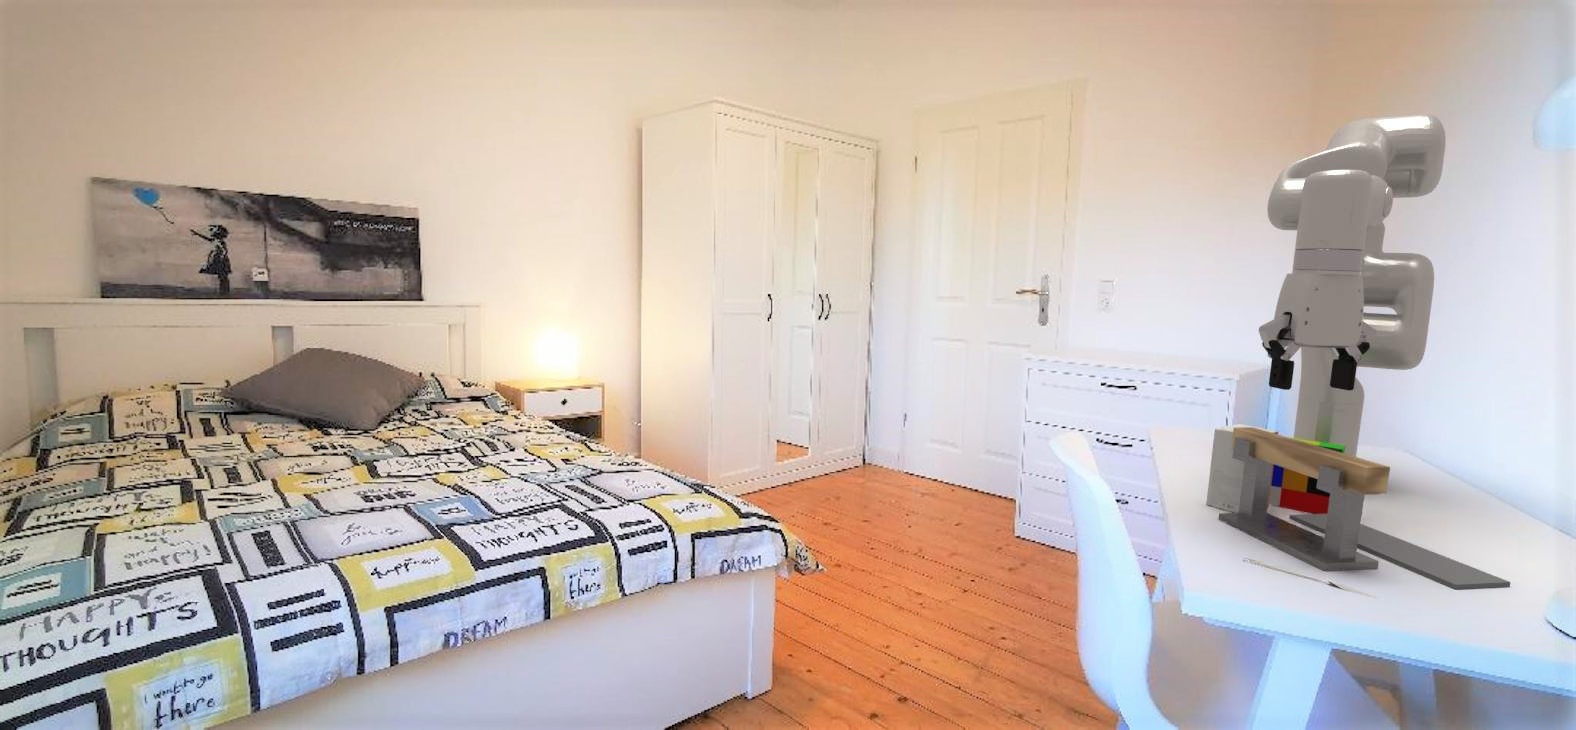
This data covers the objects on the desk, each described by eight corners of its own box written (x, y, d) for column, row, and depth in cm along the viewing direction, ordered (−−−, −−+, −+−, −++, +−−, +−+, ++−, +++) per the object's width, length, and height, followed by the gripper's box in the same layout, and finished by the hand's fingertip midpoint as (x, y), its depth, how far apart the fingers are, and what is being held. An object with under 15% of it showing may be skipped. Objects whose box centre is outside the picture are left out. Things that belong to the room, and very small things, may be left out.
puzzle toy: (1255, 502, 122) (1262, 444, 121) (1267, 489, 129) (1274, 435, 128) (1328, 517, 115) (1337, 456, 114) (1337, 503, 123) (1345, 446, 121)
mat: (1333, 517, 115) (1334, 513, 115) (1509, 586, 91) (1510, 582, 91) (1289, 518, 114) (1289, 514, 114) (1455, 589, 90) (1455, 584, 90)
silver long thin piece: (1425, 612, 82) (1237, 558, 96) (1423, 620, 82) (1236, 565, 96) (1431, 602, 85) (1247, 551, 99) (1429, 611, 85) (1246, 558, 99)
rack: (1264, 518, 114) (1274, 436, 112) (1377, 568, 96) (1391, 471, 94) (1218, 519, 113) (1227, 436, 111) (1324, 571, 94) (1337, 472, 92)
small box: (1246, 516, 115) (1255, 436, 113) (1204, 505, 120) (1213, 428, 118) (1270, 508, 119) (1279, 430, 117) (1229, 497, 124) (1237, 422, 123)
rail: (1250, 449, 114) (1253, 427, 113) (1386, 493, 92) (1390, 467, 92) (1231, 449, 113) (1233, 427, 113) (1362, 494, 92) (1366, 467, 91)
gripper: (1356, 266, 103) (1341, 384, 106) (1248, 262, 101) (1234, 383, 103) (1408, 266, 96) (1390, 393, 98) (1293, 261, 94) (1277, 392, 96)
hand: (1310, 388), depth 101 cm, fingers open, 9 cm apart
